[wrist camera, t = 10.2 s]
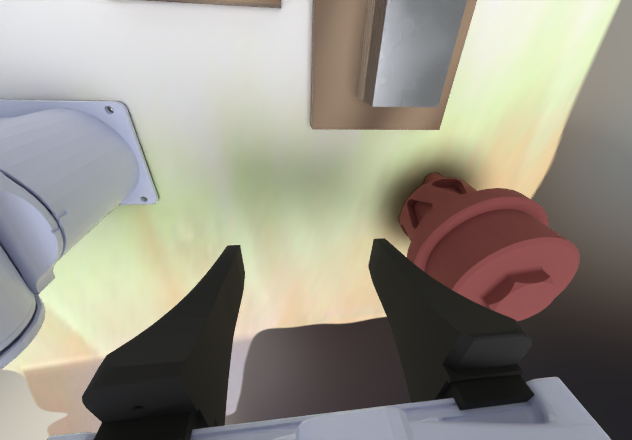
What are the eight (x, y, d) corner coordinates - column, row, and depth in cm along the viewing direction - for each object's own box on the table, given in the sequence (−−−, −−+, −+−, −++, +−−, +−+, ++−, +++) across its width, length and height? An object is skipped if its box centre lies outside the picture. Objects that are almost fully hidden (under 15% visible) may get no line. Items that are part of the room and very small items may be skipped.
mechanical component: (377, 247, 28) (381, 162, 22) (463, 234, 28) (489, 147, 23) (431, 359, 18) (464, 254, 12) (565, 336, 18) (657, 224, 13)
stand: (310, 124, 20) (312, 129, 19) (314, -84, 14) (317, -98, 13) (429, 125, 21) (439, 129, 20) (481, -68, 15) (499, -79, 14)
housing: (355, 96, 18) (372, 106, 14) (370, -44, 14) (397, -74, 11) (409, 97, 18) (437, 107, 15) (438, -39, 14) (484, -65, 11)
